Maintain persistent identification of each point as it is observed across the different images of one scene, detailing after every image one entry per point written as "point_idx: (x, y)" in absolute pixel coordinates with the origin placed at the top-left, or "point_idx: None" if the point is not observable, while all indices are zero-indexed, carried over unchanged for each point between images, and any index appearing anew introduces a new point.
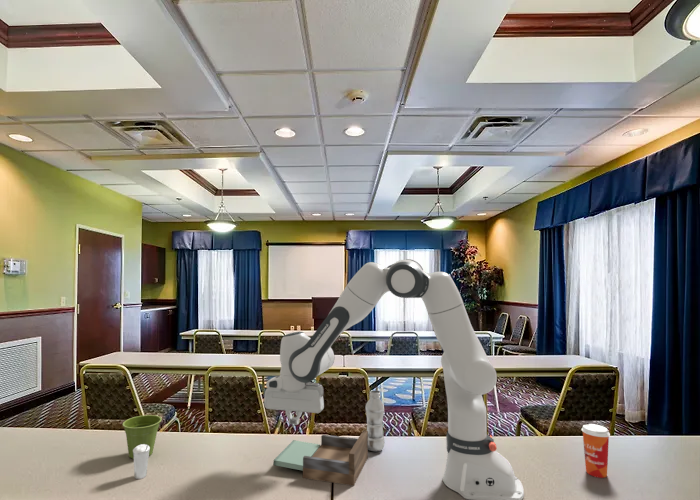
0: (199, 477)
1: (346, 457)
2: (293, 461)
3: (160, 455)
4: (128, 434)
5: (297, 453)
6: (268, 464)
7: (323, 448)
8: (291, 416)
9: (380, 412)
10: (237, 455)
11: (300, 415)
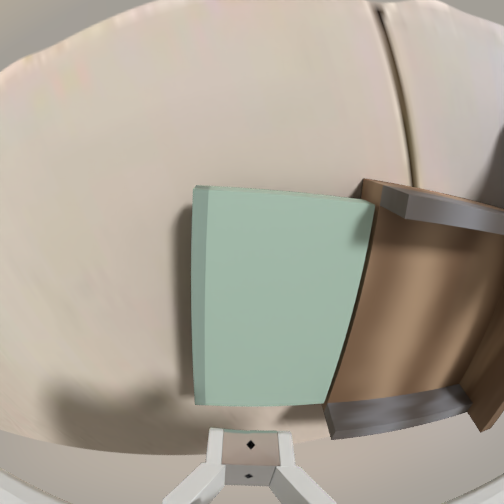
0: (42, 402)
1: (472, 306)
2: (278, 394)
3: None
4: None
5: (275, 338)
6: (154, 336)
7: (395, 249)
8: (218, 480)
9: None
10: (20, 286)
11: (315, 486)
